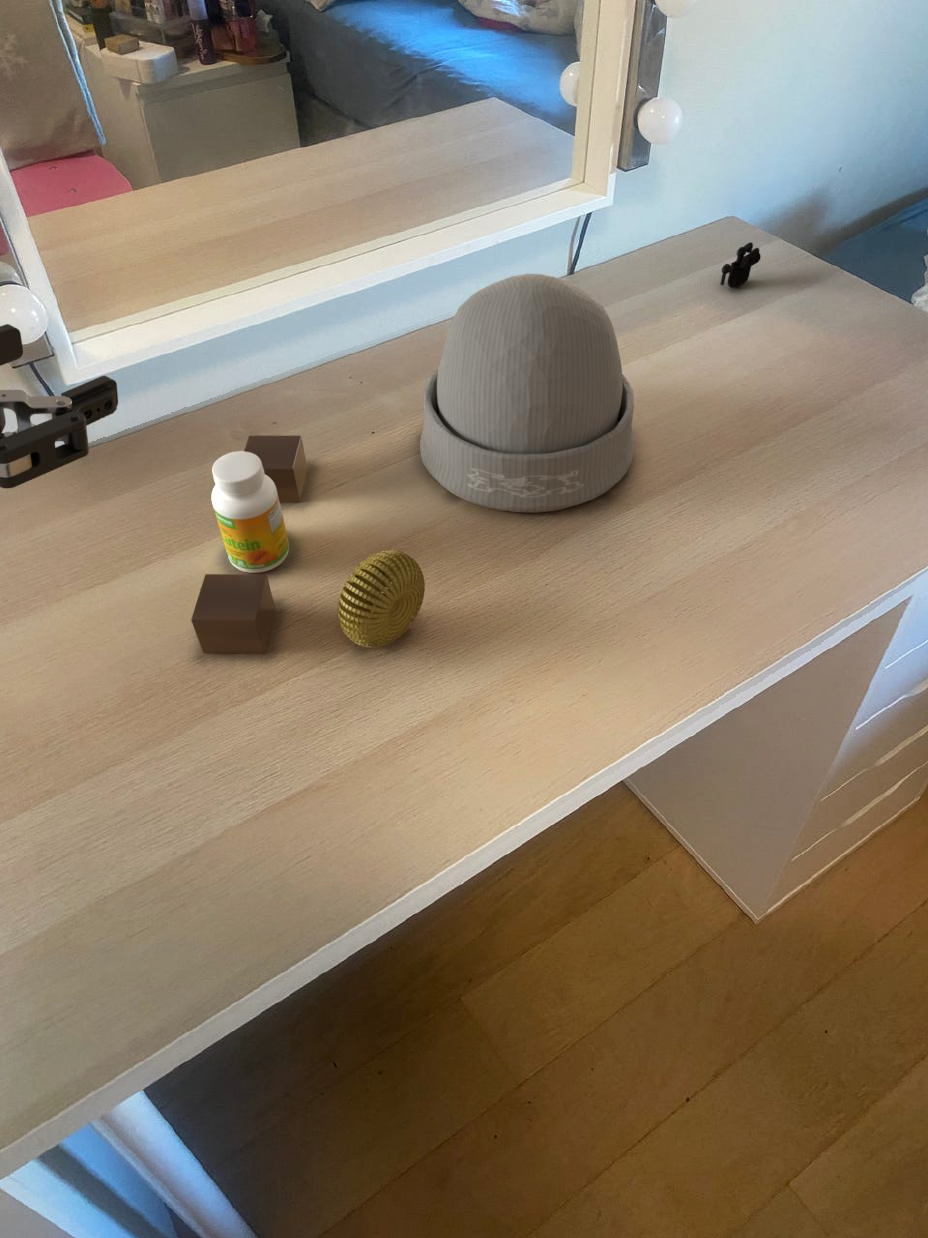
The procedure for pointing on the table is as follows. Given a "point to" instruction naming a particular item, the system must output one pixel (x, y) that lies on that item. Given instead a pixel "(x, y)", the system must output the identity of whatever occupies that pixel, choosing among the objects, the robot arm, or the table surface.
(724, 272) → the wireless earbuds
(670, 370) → the table surface
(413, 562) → the sculpture
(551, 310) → the beanie hat
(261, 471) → the supplement bottle
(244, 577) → the block near
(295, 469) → the block far
